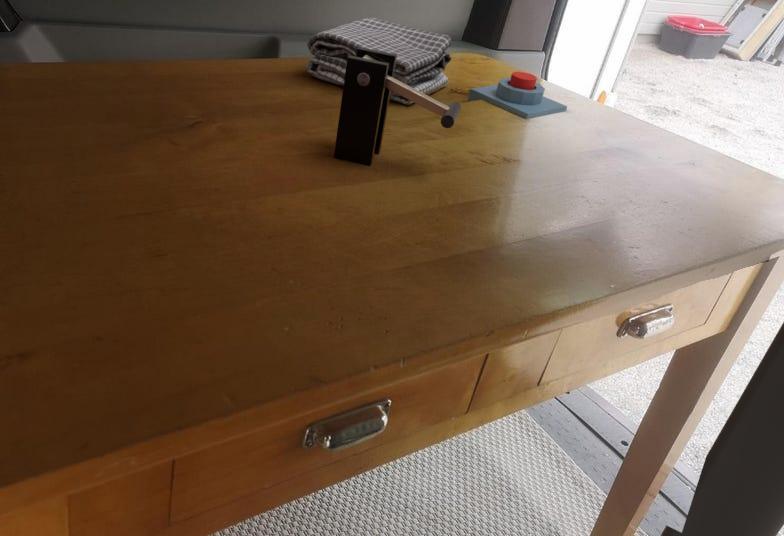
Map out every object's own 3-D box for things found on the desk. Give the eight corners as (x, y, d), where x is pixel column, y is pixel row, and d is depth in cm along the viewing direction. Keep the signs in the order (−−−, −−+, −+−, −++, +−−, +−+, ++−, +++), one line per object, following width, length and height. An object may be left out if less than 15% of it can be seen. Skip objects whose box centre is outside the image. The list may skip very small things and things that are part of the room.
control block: (563, 120, 112) (571, 93, 110) (523, 129, 107) (531, 101, 105) (506, 96, 119) (513, 70, 117) (466, 103, 114) (473, 76, 112)
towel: (351, 59, 126) (358, 9, 122) (452, 88, 119) (463, 36, 114) (301, 77, 116) (306, 23, 111) (407, 111, 108) (418, 54, 104)
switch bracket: (412, 164, 92) (434, 56, 85) (396, 192, 85) (418, 77, 78) (318, 142, 95) (331, 36, 87) (295, 168, 88) (307, 54, 80)
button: (538, 90, 111) (542, 78, 110) (522, 93, 109) (526, 80, 108) (519, 82, 113) (522, 70, 112) (503, 85, 111) (506, 72, 110)
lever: (455, 120, 86) (465, 101, 85) (448, 134, 82) (458, 114, 81) (360, 70, 86) (369, 51, 85) (348, 82, 82) (357, 62, 81)
